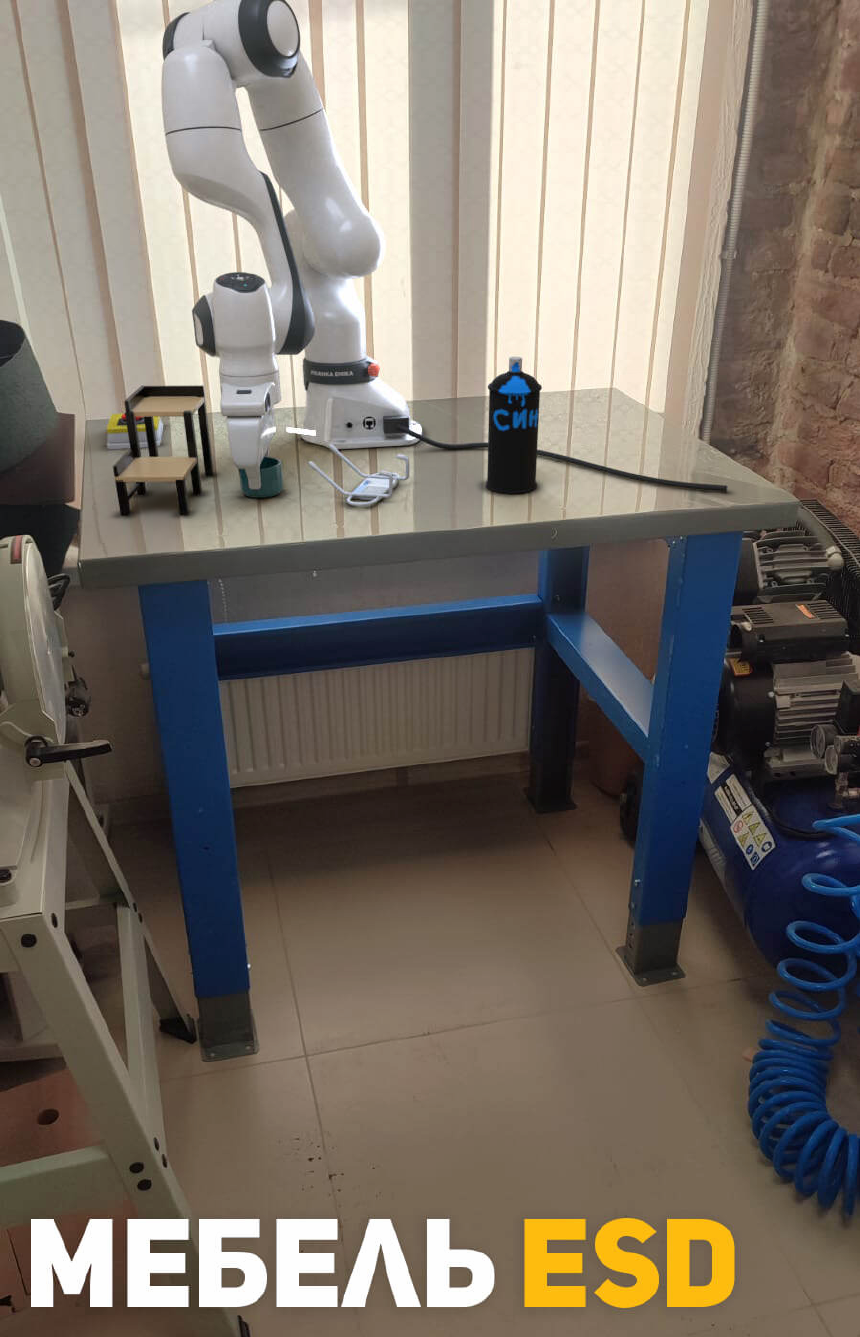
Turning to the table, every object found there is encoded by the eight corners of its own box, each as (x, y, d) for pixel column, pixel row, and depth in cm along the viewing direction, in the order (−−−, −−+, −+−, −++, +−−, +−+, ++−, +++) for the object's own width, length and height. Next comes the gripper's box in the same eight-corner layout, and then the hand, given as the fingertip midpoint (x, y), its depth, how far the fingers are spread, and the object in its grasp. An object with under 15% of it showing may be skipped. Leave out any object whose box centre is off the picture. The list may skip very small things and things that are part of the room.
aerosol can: (482, 479, 163) (484, 353, 153) (532, 477, 164) (537, 352, 154) (489, 495, 156) (492, 364, 146) (541, 493, 156) (547, 363, 147)
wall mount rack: (386, 511, 150) (385, 473, 147) (302, 503, 153) (299, 466, 150) (415, 479, 163) (415, 444, 160) (337, 473, 166) (335, 438, 164)
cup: (286, 484, 160) (283, 456, 158) (281, 498, 155) (278, 469, 152) (244, 485, 160) (241, 457, 158) (238, 498, 155) (235, 470, 152)
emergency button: (102, 425, 177) (110, 404, 190) (106, 449, 179) (114, 427, 192) (156, 422, 179) (160, 402, 192) (159, 446, 181) (163, 425, 194)
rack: (213, 474, 166) (203, 385, 159) (187, 515, 149) (175, 417, 142) (154, 474, 166) (141, 385, 159) (120, 516, 149) (104, 418, 142)
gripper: (240, 375, 159) (249, 460, 166) (217, 407, 141) (228, 501, 148) (280, 374, 159) (287, 459, 166) (262, 407, 141) (271, 500, 148)
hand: (259, 479), depth 156 cm, fingers closed on cup, 6 cm apart
